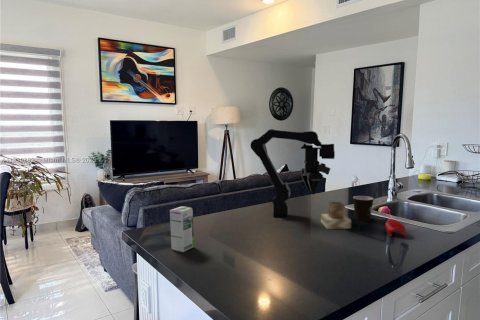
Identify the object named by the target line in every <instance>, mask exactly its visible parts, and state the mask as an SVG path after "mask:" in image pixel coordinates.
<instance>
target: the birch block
mask: <svg viewBox="0 0 480 320" xmlns="http://www.w3.org/2000/svg"><path fill="white" fill-rule="evenodd" d="M320 223H321V224H322V225H323V226H324V227H325V228H326V230H327V229H329V230H333V229H336V230H338V229H352V219H351V218H349V216H347V215H346V214H345V213H344V219H332V218H331V217H330V216H329V213H321V214H320Z"/></svg>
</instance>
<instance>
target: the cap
mask: <svg viewBox="0 0 480 320" xmlns="http://www.w3.org/2000/svg"><path fill="white" fill-rule="evenodd" d="M384 226H385V230H386V232H387V233H388V235H389V237H392V236H393V233H395V232H396V231H399V232H400V233H402V235H403V237H406V236H407V235H406V228H405V225H403V224H402V223H401V222H400V221H398V220H396V219H388V220H387V221H385V223H384Z"/></svg>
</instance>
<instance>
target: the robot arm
mask: <svg viewBox="0 0 480 320" xmlns="http://www.w3.org/2000/svg"><path fill="white" fill-rule="evenodd" d="M272 139H282V140H292V141H299V142H301V143H303V145H302V146H301V147H300V149H301V150H304V160H303V163H304V167H303V168H301V169H300V175H301V177H302V180H303V182H304V184H305V185H304V186H305V187H306V190H307V191H310V192H311V194H312V195H315V194H316V191H317V188H318V187H317V186H318V184H319V183H320V182H322V181H323V180H324V174H325V175H327V176H329V174H330V171H331V167H328V166H326V163H323V162H320V161H319V160H318V159H319V158H318V157H320V158H321V159H322V160H328V159H329V160H334V159H335V153H336V152H335V144H334V143H328V144H327V143H322V142H321V141H320V139H319V135H318V133H317V132H316V131H313V130H312V131H311V130H309V131H290V130H289V131H288V130H278V129H273V128H271V129H270V128H269V129H268V130H267V131H266V132H265V133H263V134H262V135H261V136H259V137H258V138H255V139H253V140H252V141H251V142H250V144H249V145H250V149H251V150H252V151H253V153H254V154H255V155H256V156H257V157H258V158H259V159H260V161H261V163H262V165H263V167H264V169H265V171H266V173H267V174H268V177H269V178H270V180H271V182H272V184H273V187H274V192H275V196H274V197H273V199H272V200H271V201H272V212H271V214H272V217H273V218H286V217H287V218H288V214H289V212H288V211H289V210H288V204H287V202H286V201H288V200H289V198H290V196H291V188H290V186H289V184H288V182H287V181H285V182H284V181H283V180H282V178H281V176H280V175H279V173H278V171H277V170H276V167H275V166H274V163H273V161H272V160H271V158H270V156H269V154H268V149H267V145H266V144H268V143H269V142H270V141H271V140H272ZM315 146H316V147H315ZM323 173H324V174H323Z"/></svg>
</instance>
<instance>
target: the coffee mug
mask: <svg viewBox="0 0 480 320" xmlns="http://www.w3.org/2000/svg"><path fill="white" fill-rule="evenodd" d="M374 199H375V198H374V197H372V196H367V195H354V196H353V197H352V200H353V201H352V202H353V209H354V210H353V211H354V219H355V220H356V221H358V222H367V223H368V222H370V221H371V218H372V217H371V216H372V210H373V205H374V204H373V203H374Z"/></svg>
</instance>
